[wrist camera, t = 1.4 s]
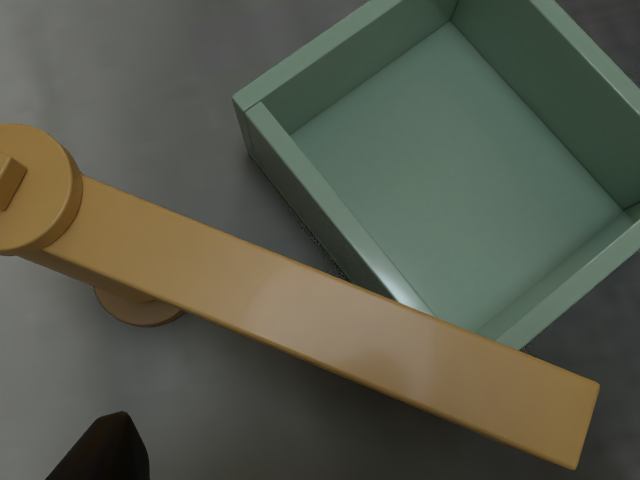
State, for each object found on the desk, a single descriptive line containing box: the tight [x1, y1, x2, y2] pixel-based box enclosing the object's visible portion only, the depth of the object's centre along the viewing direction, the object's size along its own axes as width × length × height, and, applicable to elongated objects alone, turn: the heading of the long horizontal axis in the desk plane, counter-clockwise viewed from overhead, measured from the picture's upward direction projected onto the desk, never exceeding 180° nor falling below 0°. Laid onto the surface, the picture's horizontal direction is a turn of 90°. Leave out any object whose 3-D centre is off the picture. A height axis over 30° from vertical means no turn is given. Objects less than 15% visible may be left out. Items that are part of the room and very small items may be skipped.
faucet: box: [0, 124, 600, 470], centre depth 16 cm, size 16×3×11 cm, turn 68°
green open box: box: [231, 0, 640, 351], centre depth 21 cm, size 12×11×5 cm
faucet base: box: [93, 286, 185, 327], centre depth 22 cm, size 4×4×1 cm
